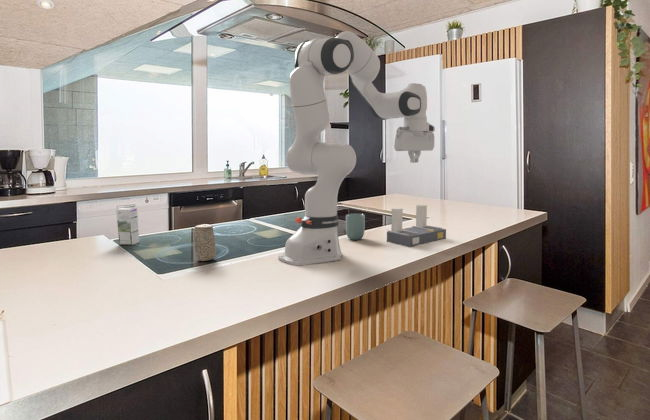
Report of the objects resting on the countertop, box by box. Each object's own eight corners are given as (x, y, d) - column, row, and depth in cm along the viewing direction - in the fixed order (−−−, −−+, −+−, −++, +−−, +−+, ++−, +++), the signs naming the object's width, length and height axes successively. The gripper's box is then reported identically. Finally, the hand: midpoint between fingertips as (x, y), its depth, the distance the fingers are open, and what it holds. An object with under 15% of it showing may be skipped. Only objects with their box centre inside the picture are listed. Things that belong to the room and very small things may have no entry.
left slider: (397, 232, 167) (397, 209, 166) (391, 230, 170) (391, 208, 168) (402, 231, 169) (402, 208, 168) (396, 230, 171) (396, 207, 170)
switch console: (410, 247, 161) (411, 235, 160) (386, 241, 170) (386, 230, 169) (446, 239, 174) (446, 228, 173) (422, 234, 184) (422, 224, 183)
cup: (365, 241, 172) (365, 216, 170) (346, 241, 172) (346, 216, 171) (364, 237, 180) (364, 213, 178) (345, 237, 180) (345, 213, 178)
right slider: (421, 227, 177) (422, 205, 175) (416, 226, 179) (416, 205, 178) (426, 226, 178) (426, 205, 177) (420, 225, 181) (421, 204, 179)
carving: (202, 257, 149) (200, 223, 147) (220, 258, 146) (219, 224, 144) (190, 261, 143) (188, 226, 141) (209, 263, 140) (207, 227, 138)
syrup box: (140, 242, 174) (137, 206, 172) (132, 245, 168) (129, 208, 166) (126, 241, 175) (124, 206, 173) (118, 245, 169) (115, 208, 167)
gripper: (403, 126, 158) (402, 163, 160) (437, 127, 171) (436, 162, 173) (390, 126, 163) (390, 163, 165) (424, 128, 176) (424, 161, 178)
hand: (414, 162), depth 169 cm, fingers closed
